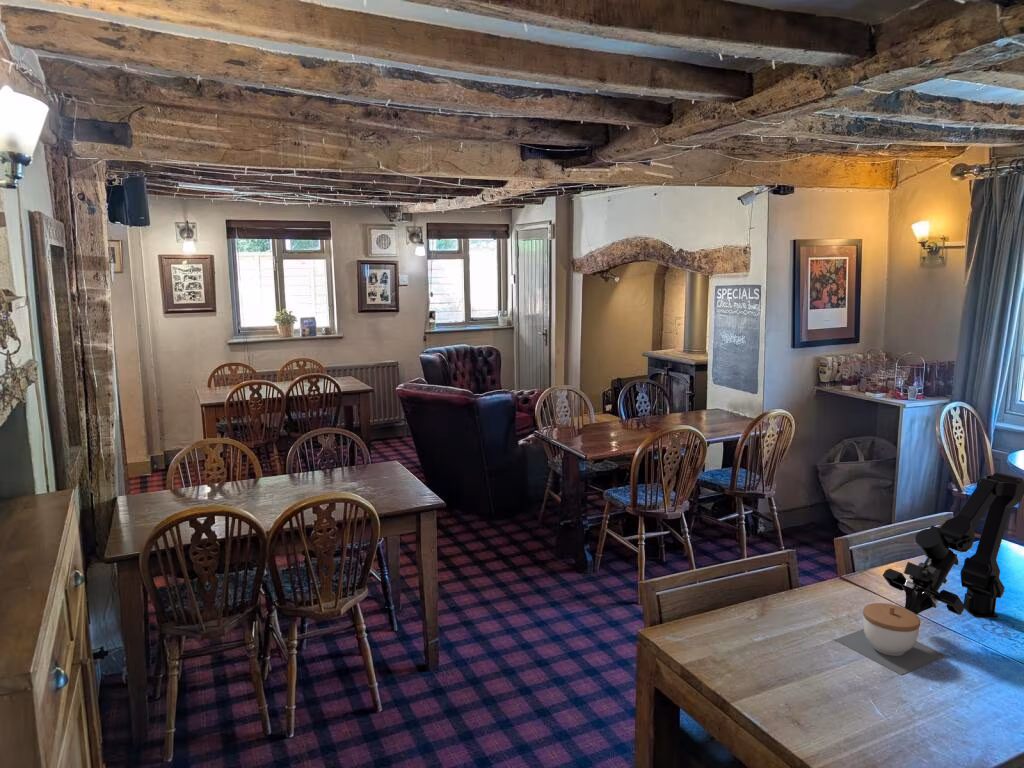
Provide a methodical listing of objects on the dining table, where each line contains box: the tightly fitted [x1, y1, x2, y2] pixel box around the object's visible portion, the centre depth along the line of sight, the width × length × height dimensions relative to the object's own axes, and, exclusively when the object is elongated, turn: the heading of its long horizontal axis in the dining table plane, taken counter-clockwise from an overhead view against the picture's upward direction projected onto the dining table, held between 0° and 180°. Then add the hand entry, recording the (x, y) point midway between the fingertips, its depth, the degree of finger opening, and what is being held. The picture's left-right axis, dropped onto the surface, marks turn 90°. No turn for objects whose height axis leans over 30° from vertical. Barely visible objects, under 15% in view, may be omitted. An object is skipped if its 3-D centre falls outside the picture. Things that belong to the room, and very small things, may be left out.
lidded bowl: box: [862, 602, 921, 656], centre depth 177 cm, size 13×13×11 cm
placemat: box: [834, 629, 947, 676], centre depth 178 cm, size 18×18×1 cm
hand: (905, 617), depth 180 cm, fingers closed, pressing on lidded bowl
